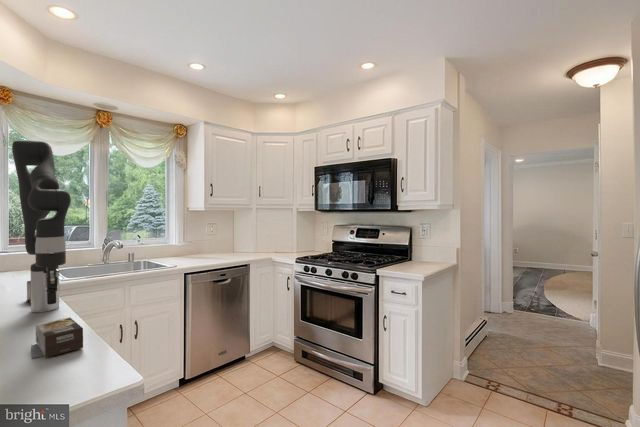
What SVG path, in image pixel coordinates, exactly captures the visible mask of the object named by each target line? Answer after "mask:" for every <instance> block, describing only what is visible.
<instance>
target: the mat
mask: <svg viewBox="0 0 640 427" xmlns="http://www.w3.org/2000/svg"><path fill="white" fill-rule="evenodd" d="M43 357H45V355H44V354H43V352H42V350H41V349H40V347H39V346H38V344H37V343H33V344H31V360H35V359H39V358H43Z"/></svg>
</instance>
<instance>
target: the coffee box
mask: <svg viewBox="0 0 640 427" xmlns="http://www.w3.org/2000/svg"><path fill="white" fill-rule="evenodd" d="M35 344H38V346H39V347H40V349H41V350H42V352H43V354H44V355H45V356H44V357H45V358H51V357H56V356H58V355H62V354H65V353H69V352H72V351H77V350H80V349H83V348H84V328H83V327H82V326H81V325H80V324H79V323H78V322H76V321H75V320H74V319H73V318H71V317H65V318H60V319H55V320H50V321H46V322H45V321H44V322H40V323H36V324H35Z"/></svg>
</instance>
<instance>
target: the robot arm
mask: <svg viewBox="0 0 640 427" xmlns="http://www.w3.org/2000/svg"><path fill="white" fill-rule="evenodd" d="M11 145H12V146H11V150H12V157H13V162H14V166H15V170H16V175H17V181H18V189H19V191H18V193H19V200H20V209H21V215H22V218H23V225H24V226H23V227H24V228H23V229H24V246H25V251H26V253H27V254H28V255H30V256H31V255H33V256H35V257H34V258H35V262H33V263H32V264H31V265H30V281H31V303H30V310H31V313H44V312H50V311H54V310H57V309H59V308H60V279H59V278H60V270H59V269H60V268H59V266H62V265H65V264H66V263H67V259H66V257H67V255H66V254H67V252H66V244H67V243H66V239H65V222H66V216H67V214H68V211H69V208H70V205H71V202H72V200H71V199H72V198H71V195H70V193H69V192H68V191H67V190H64V189H60V184H59V182H58V179H57V176H56V169H55V160H54V152H53V150H52V147H51V144H50V143H49V142H48V141H44V140H25V139H24V140H22V139H21V140H19V139H17V140H13V142H12V144H11ZM28 166H29V167H30V166H32V167H33V166H34V168H33V169H32V170H31V172H30V170H29V169H28ZM35 166H36V167H35ZM51 212H55V214H54V215H53V216H50V217H47V216H48V215H49V214H50V213H51Z"/></svg>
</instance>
